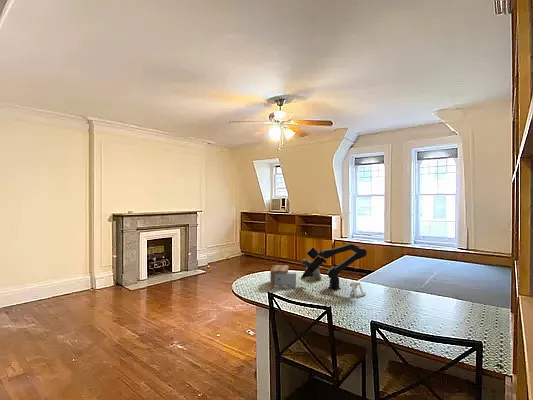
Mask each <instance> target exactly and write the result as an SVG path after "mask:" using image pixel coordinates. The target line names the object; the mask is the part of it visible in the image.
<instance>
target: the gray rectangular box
mask: <svg viewBox="0 0 533 400" xmlns="http://www.w3.org/2000/svg"><path fill="white" fill-rule="evenodd" d="M274 285H289V288H297V272H292V271H288V272H287V273H275V272H274Z"/></svg>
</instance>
